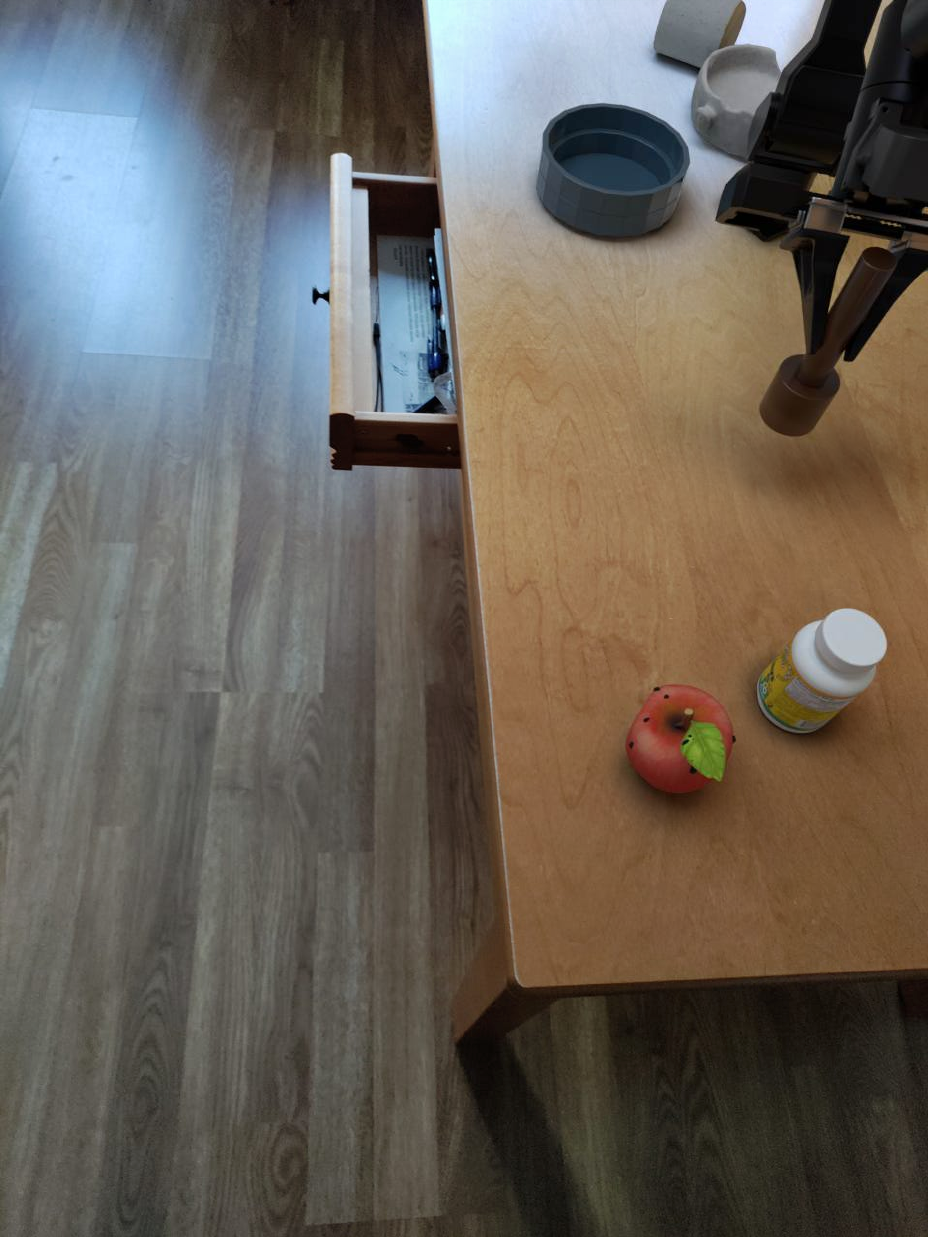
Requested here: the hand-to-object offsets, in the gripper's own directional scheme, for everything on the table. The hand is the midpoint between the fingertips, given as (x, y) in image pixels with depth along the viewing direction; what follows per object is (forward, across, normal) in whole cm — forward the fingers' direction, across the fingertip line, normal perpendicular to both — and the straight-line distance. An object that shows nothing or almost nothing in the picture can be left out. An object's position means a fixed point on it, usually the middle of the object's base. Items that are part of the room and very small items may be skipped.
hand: (829, 357), depth 58 cm
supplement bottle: (+23, +3, -4) cm, 24 cm away
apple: (+28, -5, -8) cm, 30 cm away
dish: (-25, -3, +45) cm, 51 cm away
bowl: (-14, -16, +33) cm, 40 cm away
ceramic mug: (-34, -9, +54) cm, 64 cm away
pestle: (+4, 0, +6) cm, 7 cm away
